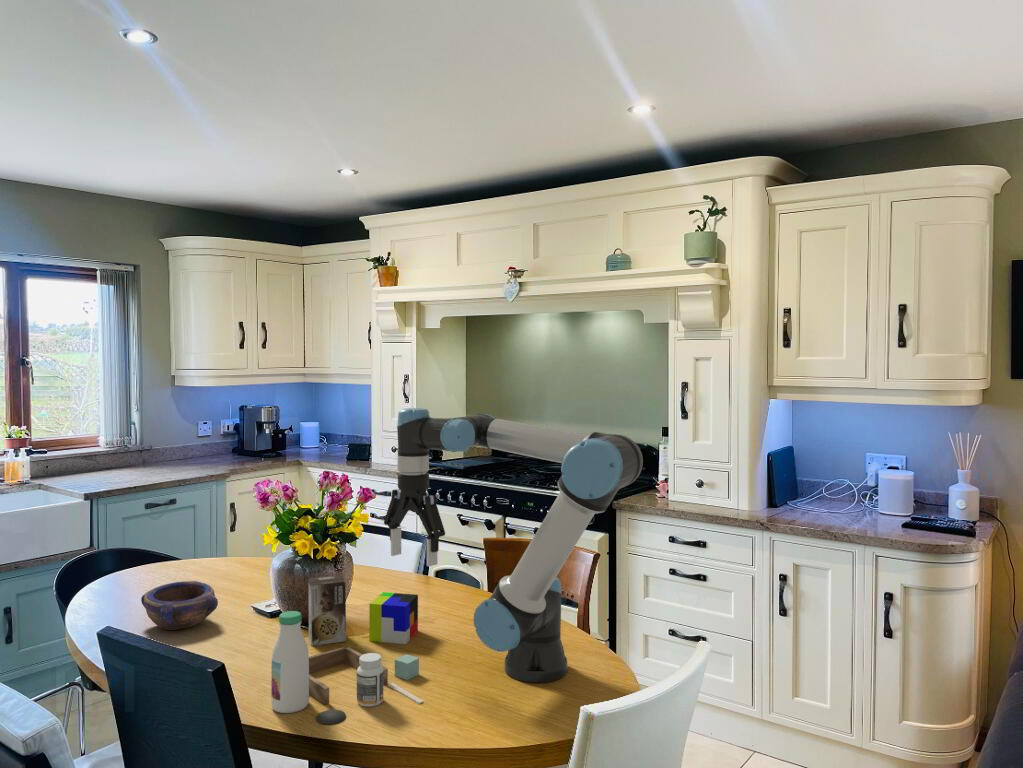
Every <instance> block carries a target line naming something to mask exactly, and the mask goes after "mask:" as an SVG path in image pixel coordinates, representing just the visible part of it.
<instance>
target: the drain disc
mask: <svg viewBox="0 0 1023 768" xmlns="http://www.w3.org/2000/svg"><path fill="white" fill-rule="evenodd" d="M346 717H347V716H346V712H344V711H343V710H341V709H328V710H323V711H321V712H319V713H318V714H316V716H315V720H316V722H317V724H320V725H336V724H339V723H341V722H343V721H344V720H345V719H346Z"/></svg>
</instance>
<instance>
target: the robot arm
mask: <svg viewBox="0 0 1023 768" xmlns="http://www.w3.org/2000/svg"><path fill="white" fill-rule="evenodd" d="M397 415H398V416H397V426H396V428H397V431H396V432H397V472H399V473H398V474H397V488H396V489H392V490H391V499H390V502H389V506H388V507H387V510H386V511H387V512H386V514H385V517H384V520H383V524H384V525H385V526H388V528H389V541H390V556H392V557H394V556H398V555H402V526H401V524H402V522H403V521H404V519H405V517H406V515H407V514H408V512H409V511H410V512H412V513H415V514H416V515H417V516H418V518H419V520H420V521H421V524H422V525H423V527H424V528H423V529H425V531H426V534H427V536H428V537H427V538H426V567H431V566H436V565H438V552H439V548H440V547H439V544H440V543H439V542H440V540H439V539H440V537H444V536H446V531H445V527H444V524H443V521H442V519H441V516H440V511H439V508H438V505H437V496H436V494H431V495H427V490H428V489H429V487H430V474H429V473H428V472H429V471H430V450H436V451H443V452H444V451H445V452H452V453H457V452H459V453H461V452H467V451H469V450H470V448H473V447H480V448H481V447H482V448H486V449H491V450H498V451H500V452H501V451H502V452H507V453H512V454H516V455H519V456H520V455H521V456H525V457H531V458H536V459H539V460H543V461H544V460H545V461H550V462H555V463H560V464H561V468H560V469H561V470H560V471H561V473H562V474H561V475H560V477H559V479H558V481H557V487H558V490H559V493H558V495H557V497H556V498H555V500H554V502H553V504H551V507H550V508H549V510H548V512H547V513H546V516H545V517H544V518H543V520H542V522H541V523H540V526H539V527H538V529H537V531H536V532H535V534H534V535H533V537H532V538H531V540H530V542H529V544H528V545H527V547H526V549H525V551H524V553H523V554H522V556H521V557H520V559H519V561H518V562H517V564H516V567H515V568H514V570H513V572H512V573H511V574H510V575H504V576H503V577H501V578H500V580H499V581H498V583H497V585H496V587H495V589H494V590H493V592H492V594H491V595H490V596H489V597H488V598H487V599H484V600H483V601H481V603H479V605H477V607H476V608H475V611H474V613H473V626H474V627H475V633H476V635H477V636H478V639H479V640H480V641H481V642H482V644H484V646H486V648H489V649H490V650H492V651H495V652H499V653H503V652H507V654H506V656H505V658H504V672H505V673H506V674H507V676H509V677H510V678H512V679H515V680H518V681H520V682H521V681H522V682H525V683H549V682H555V681H556V680H559V679H562V678H563V677H565V676H566V675H567V673H568V660H567V656H566V654H565V649H564V645H563V642H562V639H561V638H562V637H561V632H562V631H561V630H562V627H561V626H562V625H561V623H562V594H563V592H562V582H561V580H560V579H559V577H557V576H558V574H559V573H560V572H561V570H562V568H563V566H564V565H565V563H566V561H567V560H568V558H569V557H570V555H571V553H572V552H573V551H574V548H575V547H576V545H577V544H578V542H579V540H580V538H581V537H582V535H583V534H584V532H585V531H586V529H587V527H588V525H589V524H590V523H591V521H592V519H593V517H594V516H595V514H596V515H597V514H601V513H604V512H605V511H607V508H608V507H609V506H610V504H611V502H612V501H613V500H614V497H615V495H617V492H618V491H619V490H620V489H623V488H625V487H628V486H629V485H631V484H632V483H634V482H635V481H636V480H637V479H638V477H639V476H640V474H641V473H642V469H643V465H644V464H643V463H644V460H643V453H642V452H641V448H640V446H639V445H637V443H636V442H635V441H634V440H633V439H632V438H630V437H628V436H626V435H623V434H618V433H617V434H616V433H615V434H613V433H604V432H598V431H593V432H591V433H589V434H584V433H579V432H575V431H574V432H572V431H567V430H562V429H557V428H550V427H547V426H546V427H544V426H540V425H535V424H534V425H533V424H530V423H529V424H528V423H523V422H519V421H512V420H507V419H501V418H496V417H495V416H493V415H492V414H486V413H478V414H475V415H468V416H459V417H448V418H443V417H441V418H438V417H435V418H434V417H430V411H429V410H428V408H420V407H417V408H416V407H409V408H408V407H407V408H402V409H400V410H399V411H398V414H397Z"/></svg>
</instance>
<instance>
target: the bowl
mask: <svg viewBox="0 0 1023 768" xmlns="http://www.w3.org/2000/svg"><path fill="white" fill-rule="evenodd" d="M140 601H141V604H142V606H143V607H144V609H145V611H146V615H147V617H148V618H149V619H150V620H151V621H152V623H154V625H156V626H158V627H160V628H162V629H163V630H170V631H171V630H172V631H173V630H182V629H186V628H191V627H194V626H196V625H198V624H199V623H201V622H203V621H204V620H206V619H207V618H208V617H209V616H210V615H211V614H212V613H213V612H214V611H215V610H217V607H218V605H219V600H218V598H217V597H216V595H215V590H214V589H213V587H212V586H211V585H209V584H207V583H205V582H201V581H198V580H188V581H187V580H186V581H185V580H184V581H175V582H170V583H165V584H161V585H159V586H157V587H154V588H152V589H150V590H148V591H147V592H146V593H144V594H143V595H141V598H140Z"/></svg>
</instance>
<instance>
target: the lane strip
mask: <svg viewBox="0 0 1023 768" xmlns="http://www.w3.org/2000/svg"><path fill="white" fill-rule="evenodd" d="M387 686H388V687H389V688H391V689H393V690H394V691H396V692H397V693H400V695H403V696H404V697H406V698H408V699H409V700H411V701H413V702H416V704H419V705H421V704H423V703H424V700H423V699H421V698H419V697H418V696H416V695H414V694H412V693H410V692H409V691H407V690H406V689H403V688H401V687H400V686H399V685H397V684H395V683H393V682H391V683H389V684H387Z"/></svg>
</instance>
